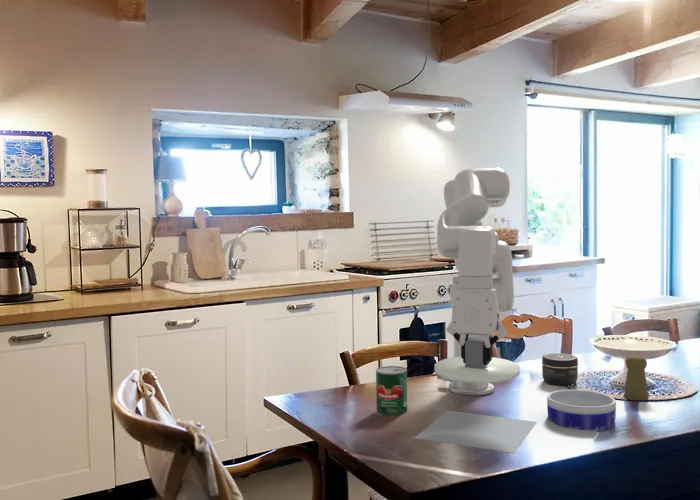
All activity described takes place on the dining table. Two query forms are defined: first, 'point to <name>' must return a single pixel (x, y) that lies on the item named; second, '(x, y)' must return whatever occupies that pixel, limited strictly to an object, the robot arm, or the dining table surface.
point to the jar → (560, 369)
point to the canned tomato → (391, 390)
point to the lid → (476, 366)
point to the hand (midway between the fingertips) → (476, 362)
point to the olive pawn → (636, 378)
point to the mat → (478, 431)
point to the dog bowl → (582, 410)
